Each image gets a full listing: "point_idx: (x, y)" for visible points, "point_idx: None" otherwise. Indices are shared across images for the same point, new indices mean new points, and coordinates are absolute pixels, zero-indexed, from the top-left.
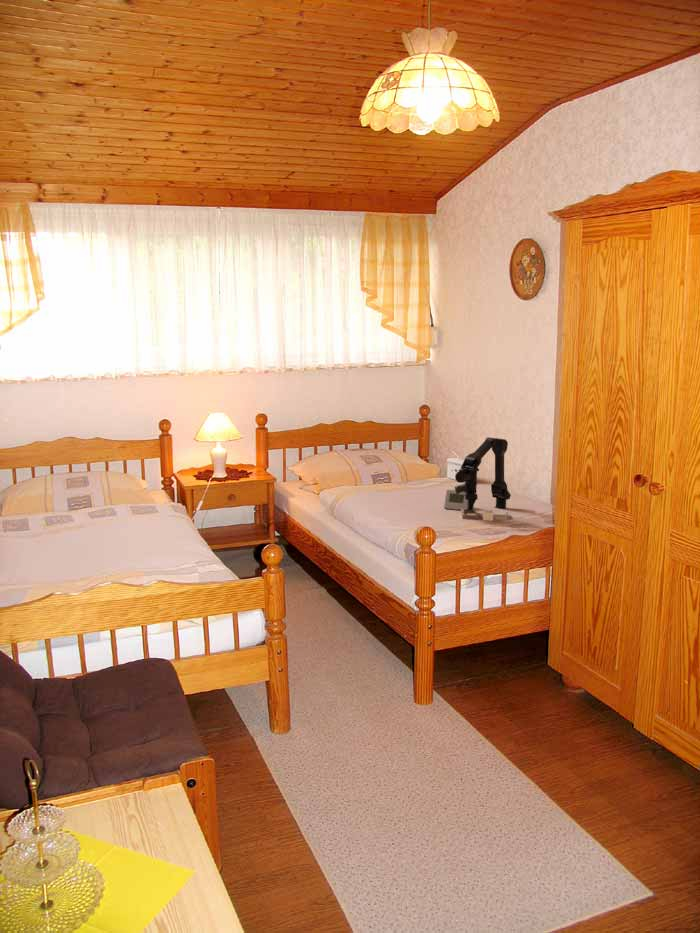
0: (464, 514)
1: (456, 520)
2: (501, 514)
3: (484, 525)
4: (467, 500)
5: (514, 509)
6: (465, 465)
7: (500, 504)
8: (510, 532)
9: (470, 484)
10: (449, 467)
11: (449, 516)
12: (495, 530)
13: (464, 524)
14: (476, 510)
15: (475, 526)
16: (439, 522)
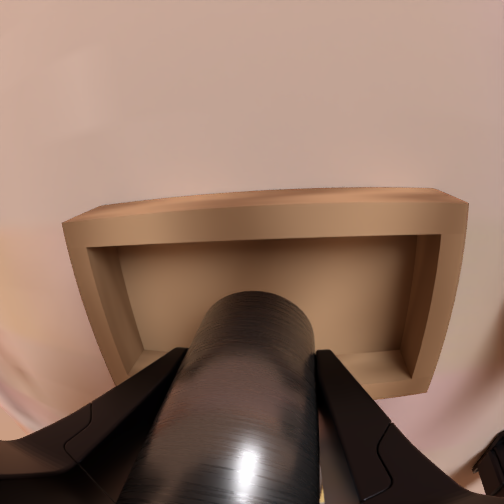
0: (102, 245)
1: (87, 138)
2: (322, 493)
3: (54, 368)
4: (153, 469)
5: (477, 479)
6: None
7: (492, 478)
8: (32, 428)
9: None
10: None
11: (264, 23)
12: (15, 389)
13: (8, 233)
14: (380, 394)
15: (8, 309)
16: (18, 22)
